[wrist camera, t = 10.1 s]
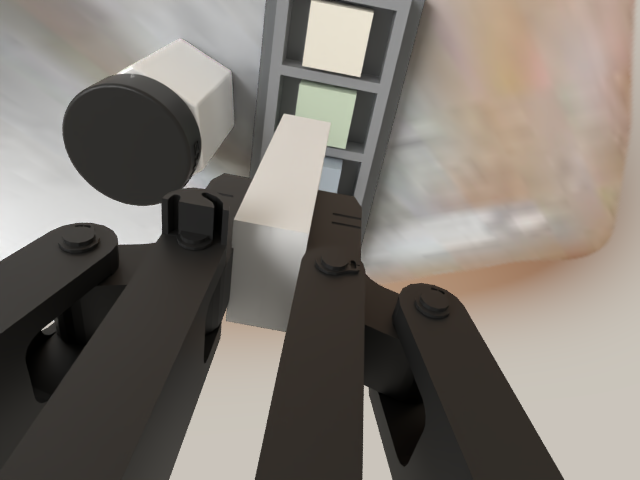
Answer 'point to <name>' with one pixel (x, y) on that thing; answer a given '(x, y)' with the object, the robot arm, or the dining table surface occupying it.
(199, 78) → the jar
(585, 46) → the dining table surface
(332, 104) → the key sage
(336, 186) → the key slate
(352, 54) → the key cream
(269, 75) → the grey compartment tray
